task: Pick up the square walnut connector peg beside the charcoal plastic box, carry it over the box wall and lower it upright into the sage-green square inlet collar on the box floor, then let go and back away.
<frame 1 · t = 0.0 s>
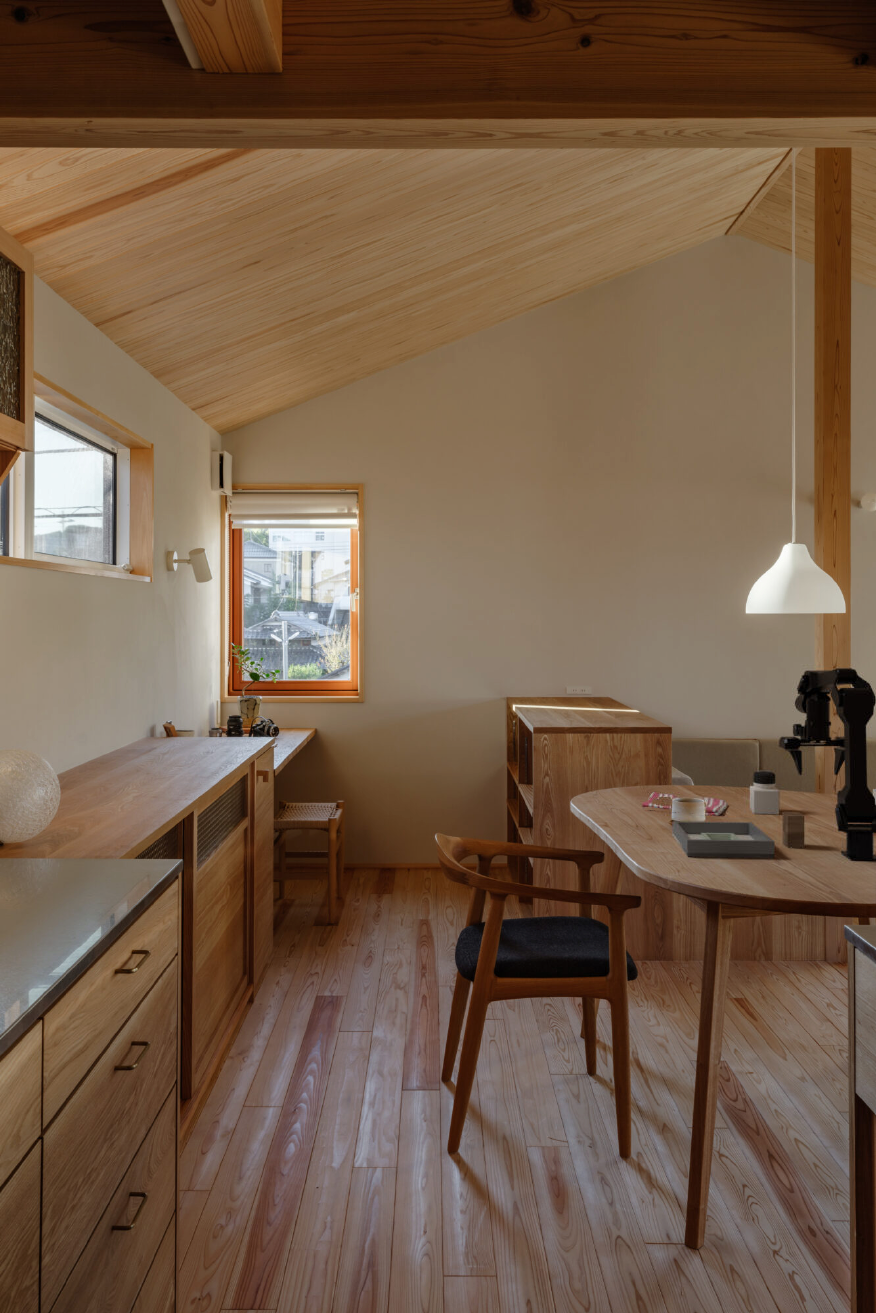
hand: (817, 774, 225), 15 cm above the table, tool pointing down, fingers open, 9 cm apart
medicine bottle: (764, 812, 248), on the table
dish towel: (684, 810, 255), on the table
connector peg: (793, 846, 209), on the table
walled box: (720, 846, 208), on the table
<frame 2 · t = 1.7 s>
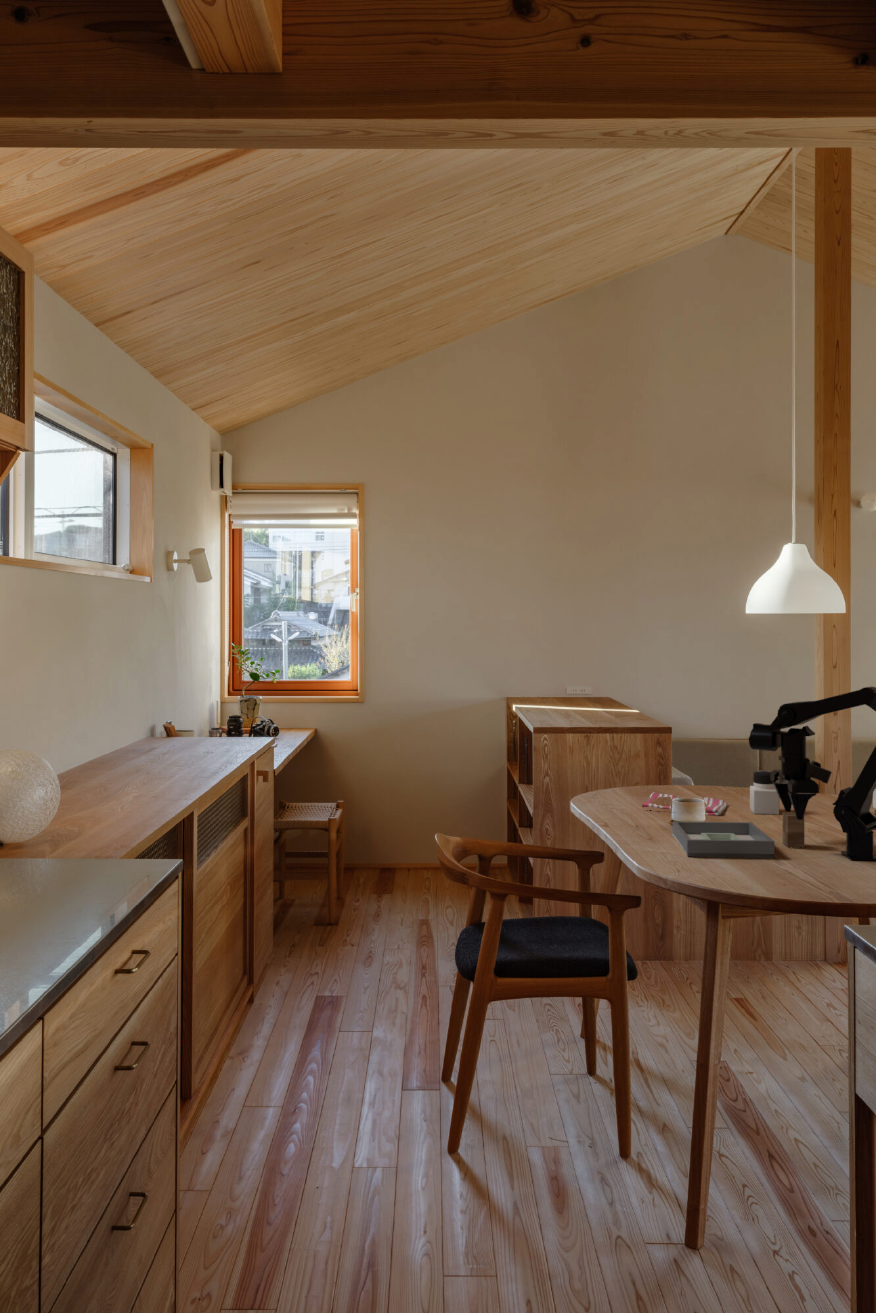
hand: (793, 815, 208), 8 cm above the table, tool pointing down, fingers open, 9 cm apart
nothing on the table moved.
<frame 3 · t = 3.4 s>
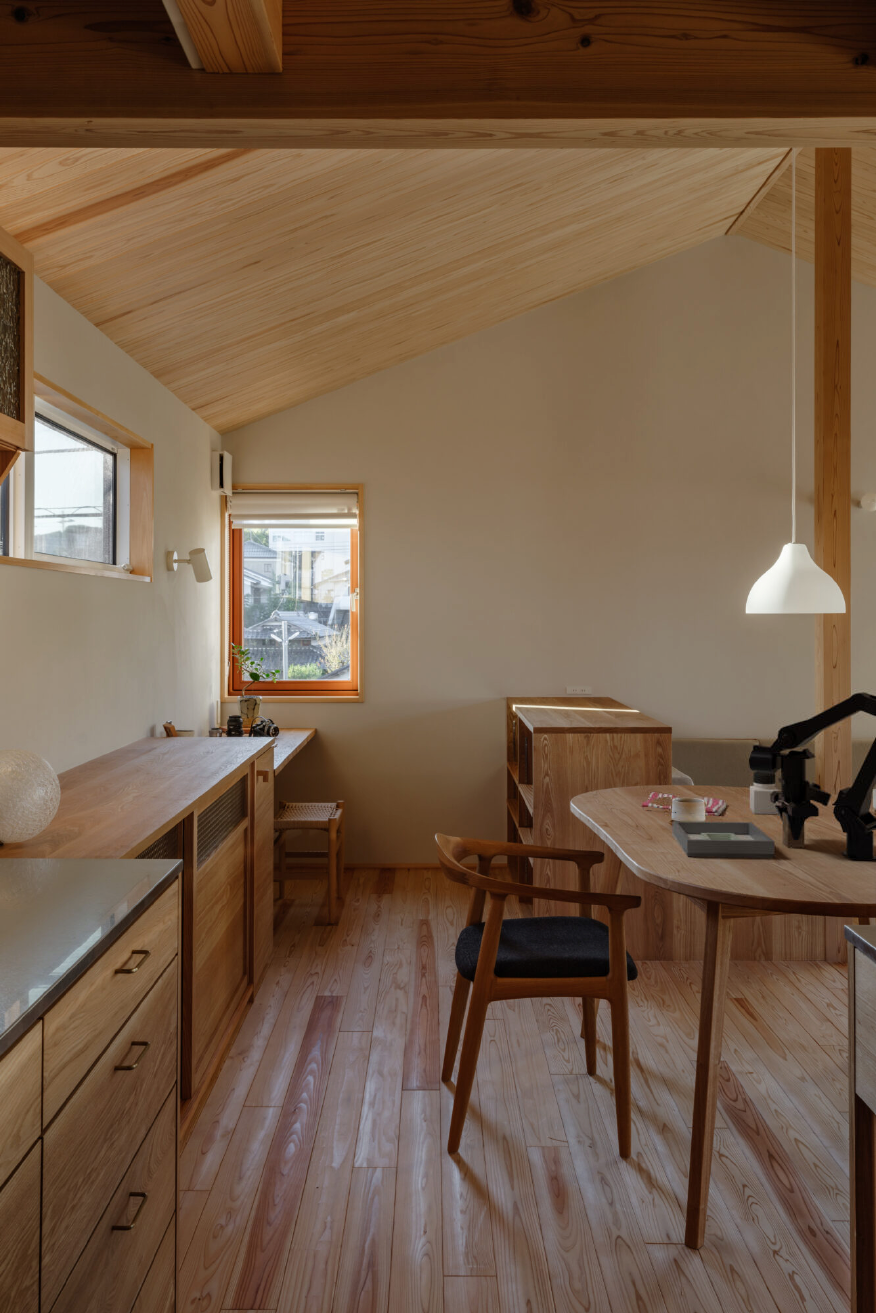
hand: (793, 837, 209), 2 cm above the table, tool pointing down, fingers closed on connector peg, 4 cm apart
connector peg: (793, 845, 209), on the table, touching gripper
everything else where it was.
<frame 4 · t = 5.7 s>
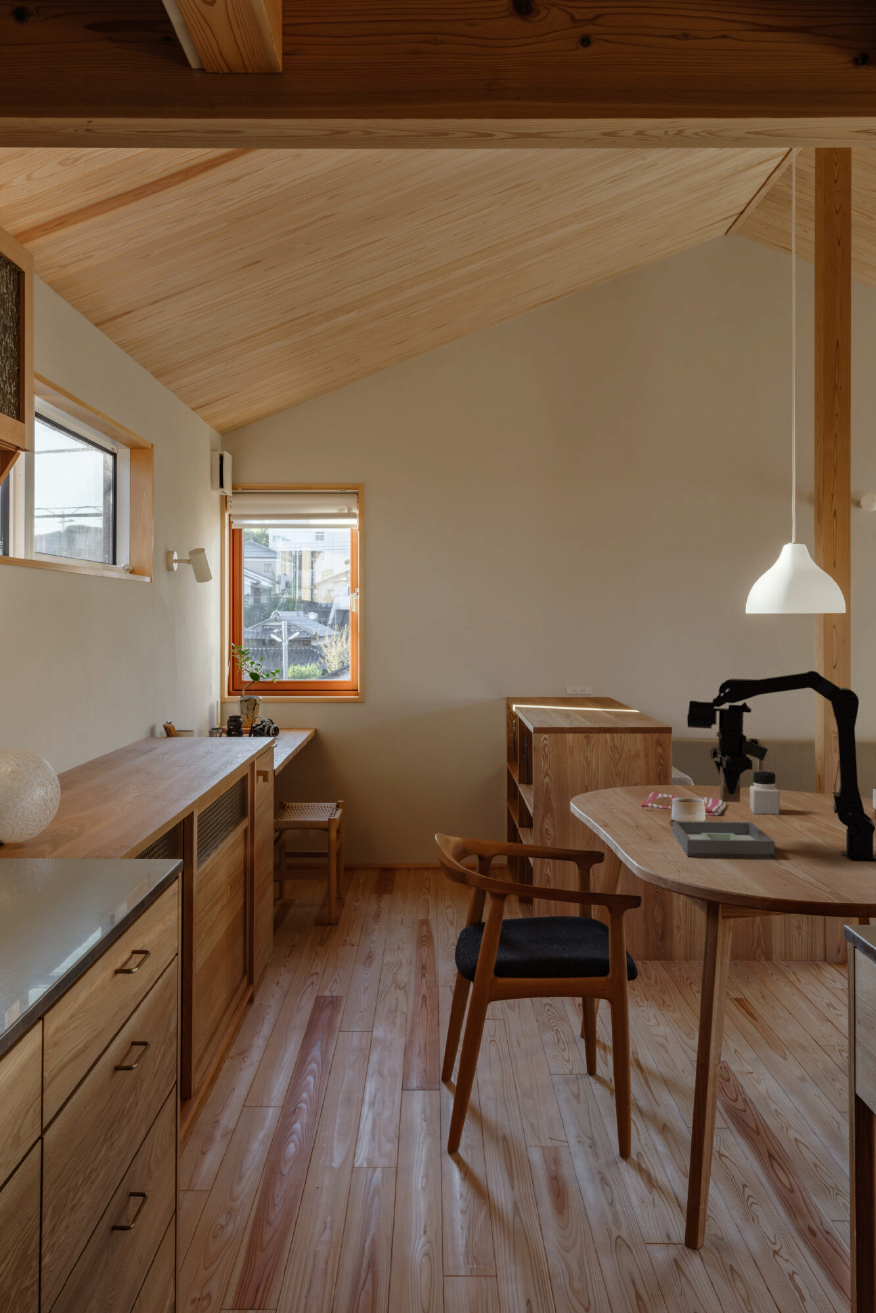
hand: (729, 792, 208), 14 cm above the table, tool pointing down, fingers closed on connector peg, 4 cm apart
connector peg: (729, 800, 208), point 12 cm above the table, touching gripper
everything else where it was.
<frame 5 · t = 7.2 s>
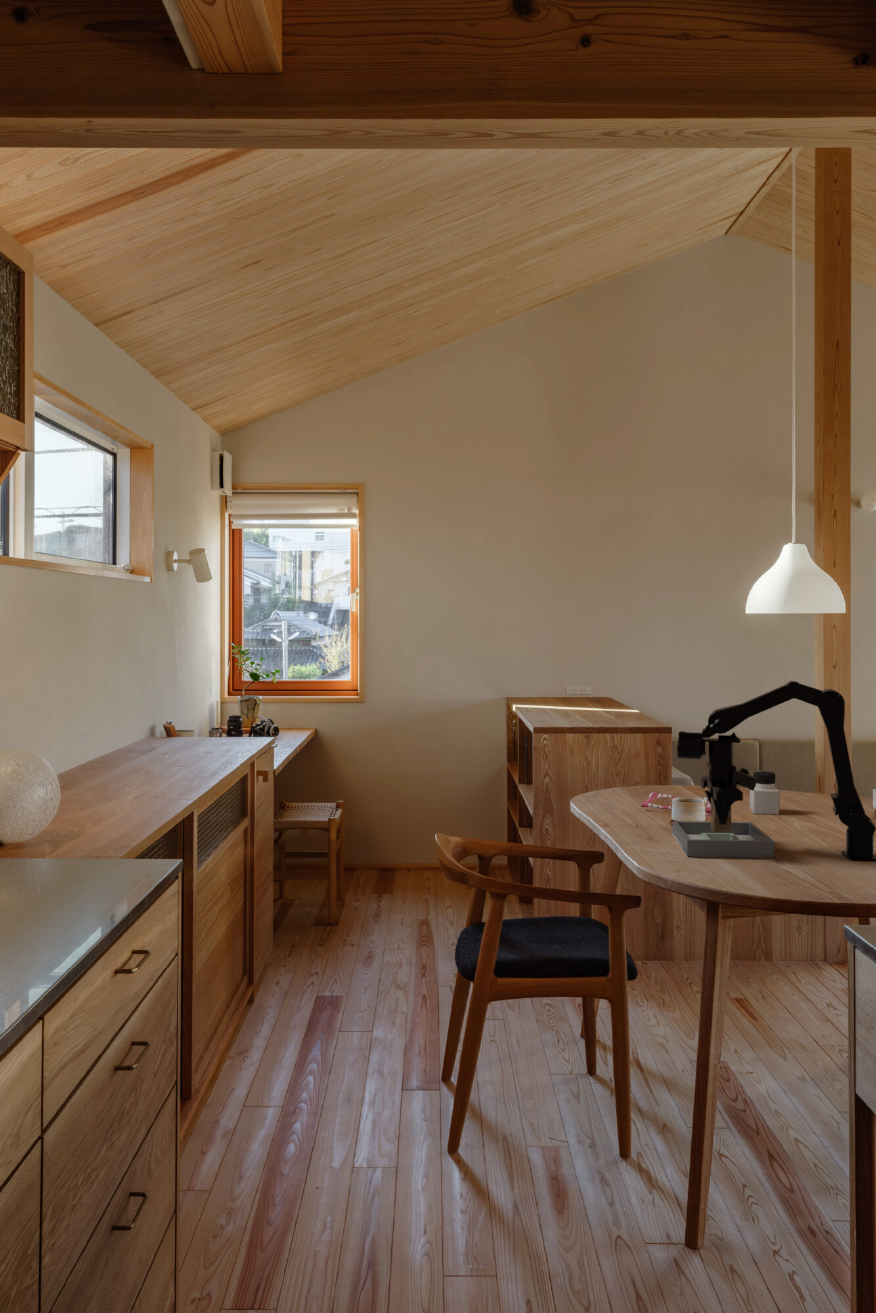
hand: (721, 822, 208), 6 cm above the table, tool pointing down, fingers closed on connector peg, 4 cm apart
connector peg: (721, 830, 208), point 4 cm above the table, touching gripper
everything else where it was.
when the fingers open (4 cm above the table, at t = 8.4 s): connector peg stays where it is, resting on walled box.
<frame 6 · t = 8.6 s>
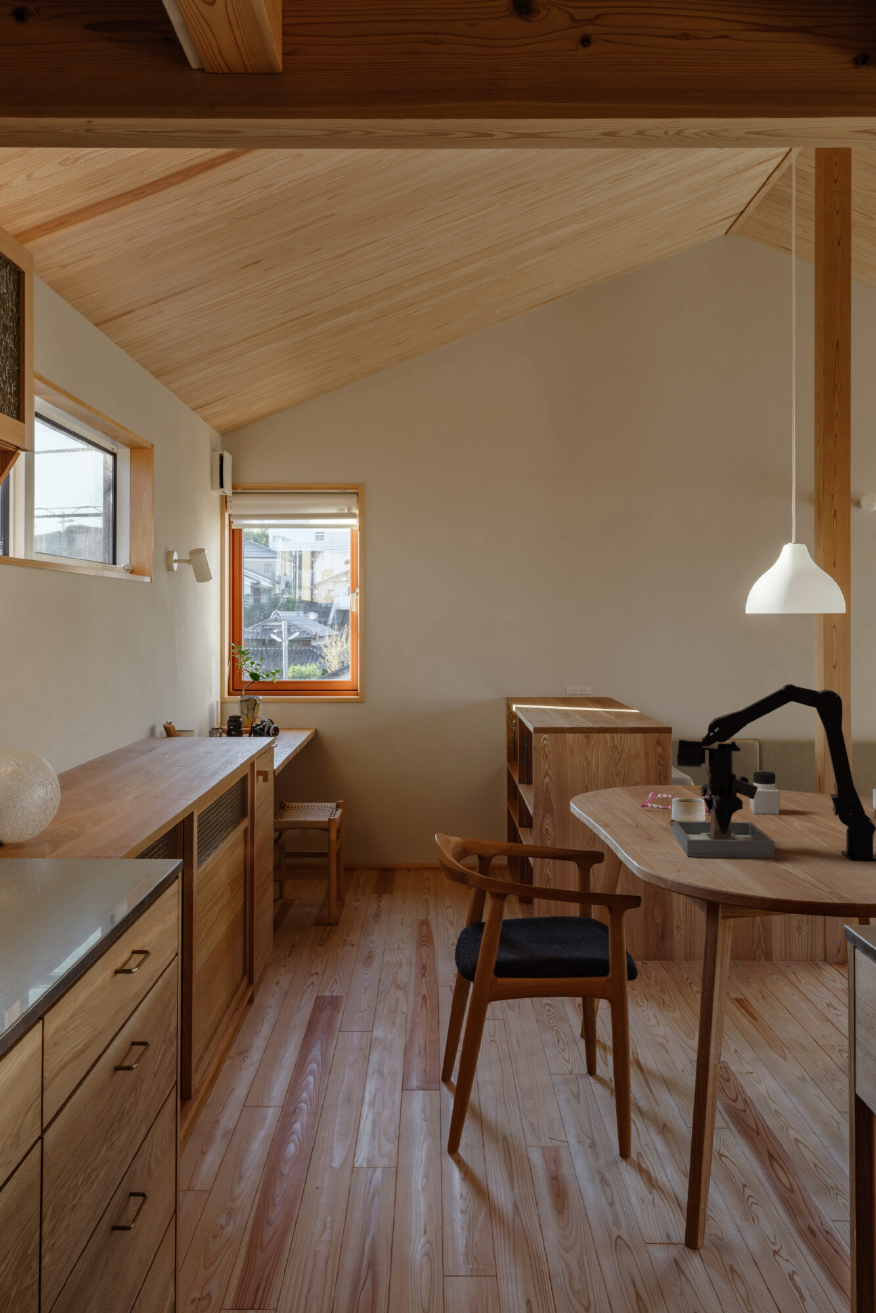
hand: (720, 830, 208), 4 cm above the table, tool pointing down, fingers open, 6 cm apart
connector peg: (720, 842, 208), point 1 cm above the table, touching walled box
everything else where it was.
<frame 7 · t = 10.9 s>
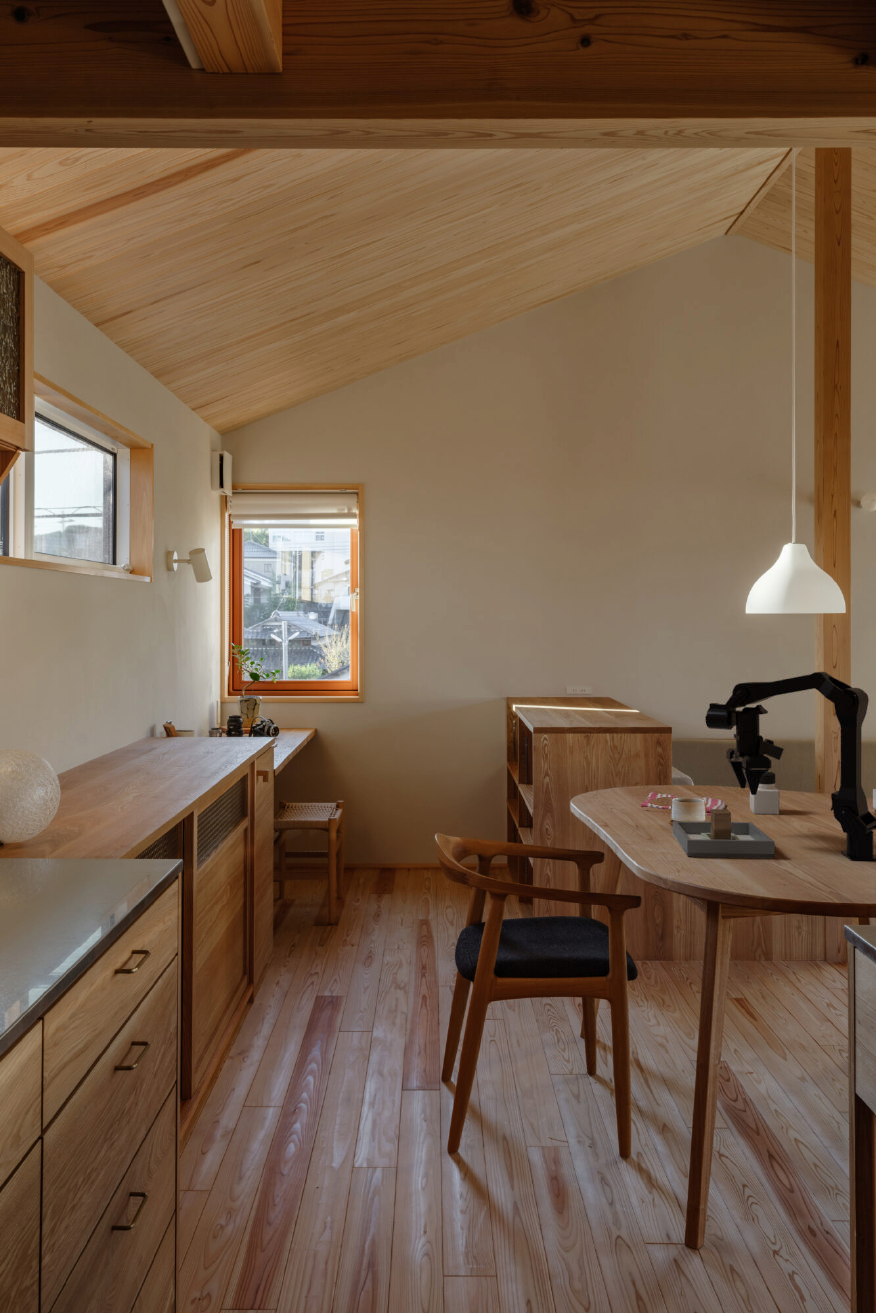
hand: (748, 791, 216), 12 cm above the table, tool pointing down, fingers open, 9 cm apart
nothing on the table moved.
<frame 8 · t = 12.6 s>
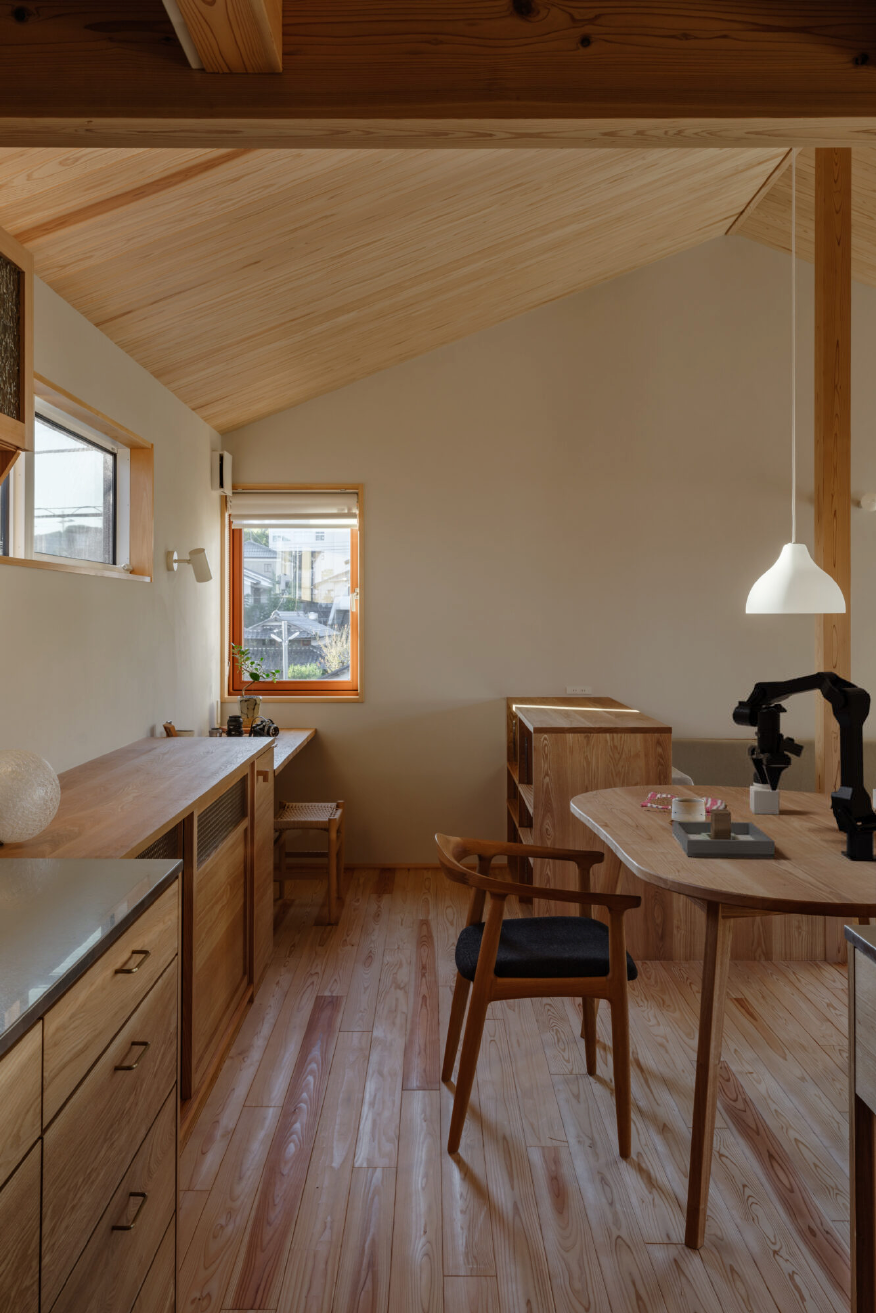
hand: (768, 787, 222), 12 cm above the table, tool pointing down, fingers open, 9 cm apart
nothing on the table moved.
at the end: connector peg 0.0 cm off-centre on the walled box, point 1.0 cm above the walled box's base; connector peg tilted 0°; the gripper is holding nothing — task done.
